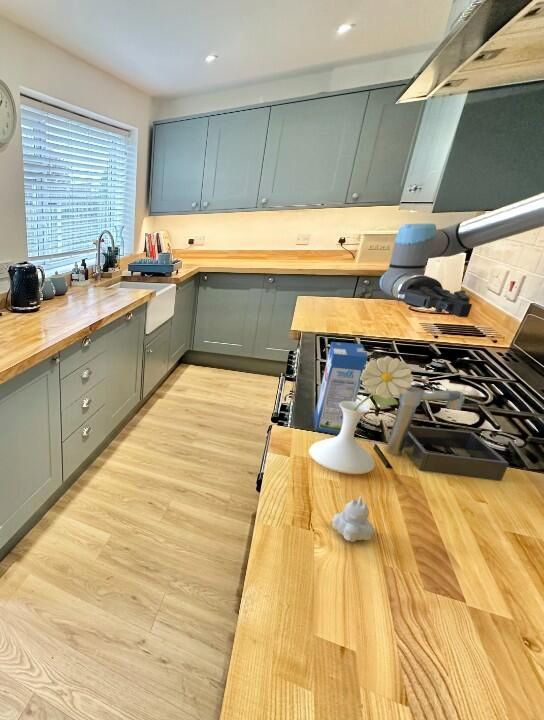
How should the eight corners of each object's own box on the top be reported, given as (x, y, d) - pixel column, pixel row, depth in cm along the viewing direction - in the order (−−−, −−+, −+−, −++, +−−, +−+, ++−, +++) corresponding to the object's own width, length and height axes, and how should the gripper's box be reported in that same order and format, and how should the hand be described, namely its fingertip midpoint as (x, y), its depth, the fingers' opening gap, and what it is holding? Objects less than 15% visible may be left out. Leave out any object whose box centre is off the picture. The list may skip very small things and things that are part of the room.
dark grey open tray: (464, 454, 90) (473, 431, 88) (498, 488, 79) (509, 463, 77) (393, 446, 94) (400, 424, 92) (416, 477, 84) (424, 453, 82)
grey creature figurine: (370, 532, 71) (383, 494, 68) (367, 556, 66) (380, 516, 63) (332, 519, 74) (342, 482, 71) (326, 541, 70) (337, 502, 67)
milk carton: (346, 435, 99) (367, 356, 92) (315, 430, 102) (333, 353, 95) (343, 418, 107) (362, 344, 99) (314, 413, 110) (331, 341, 102)
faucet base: (395, 450, 92) (412, 396, 87) (410, 470, 86) (430, 413, 80) (373, 448, 94) (389, 394, 89) (386, 467, 87) (404, 410, 82)
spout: (453, 404, 85) (459, 386, 83) (465, 411, 82) (472, 393, 80) (394, 403, 87) (399, 386, 85) (403, 410, 84) (409, 392, 82)
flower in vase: (302, 467, 89) (328, 357, 79) (312, 444, 97) (336, 341, 87) (380, 489, 81) (419, 370, 71) (384, 462, 89) (419, 351, 79)
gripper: (444, 305, 106) (500, 329, 86) (382, 304, 111) (420, 327, 91) (454, 275, 103) (513, 292, 83) (389, 275, 108) (431, 292, 88)
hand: (465, 310), depth 87 cm, fingers closed
